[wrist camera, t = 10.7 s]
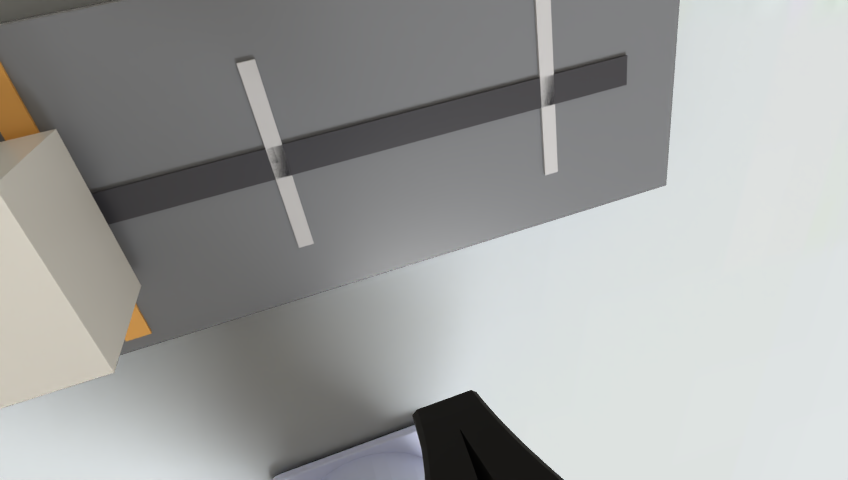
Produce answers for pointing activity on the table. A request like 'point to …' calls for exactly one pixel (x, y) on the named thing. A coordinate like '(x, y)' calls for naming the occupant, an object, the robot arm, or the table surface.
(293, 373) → the table surface
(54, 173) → the fader tab
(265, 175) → the console
